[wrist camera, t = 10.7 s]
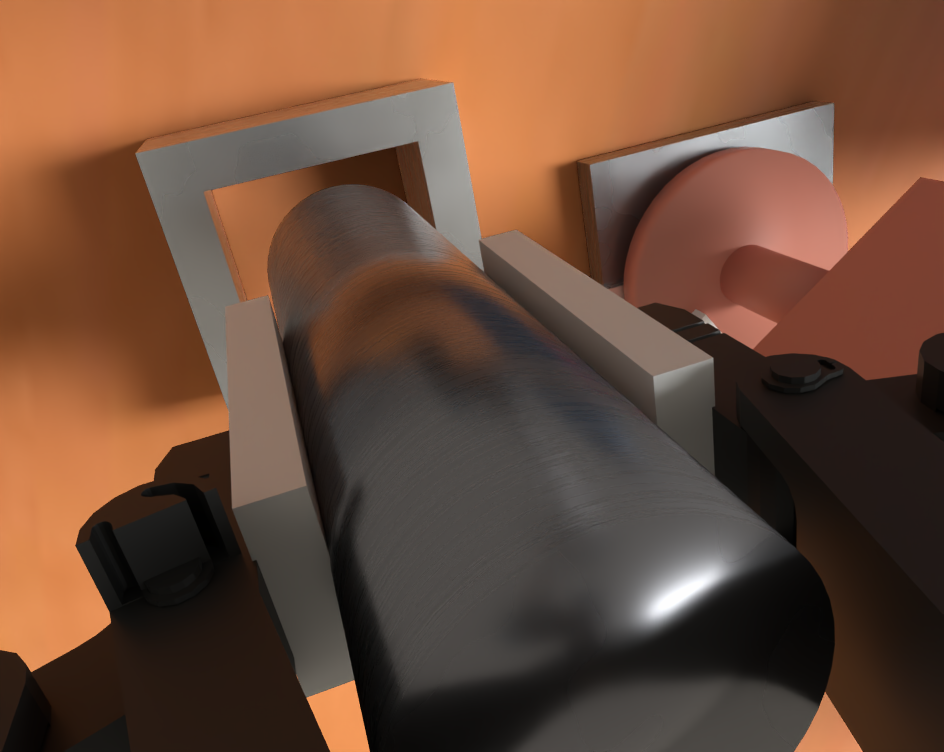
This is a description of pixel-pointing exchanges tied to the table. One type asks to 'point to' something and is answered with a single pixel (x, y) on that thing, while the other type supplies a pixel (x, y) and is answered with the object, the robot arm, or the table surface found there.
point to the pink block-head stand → (793, 262)
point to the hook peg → (522, 519)
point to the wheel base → (656, 163)
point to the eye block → (295, 147)
